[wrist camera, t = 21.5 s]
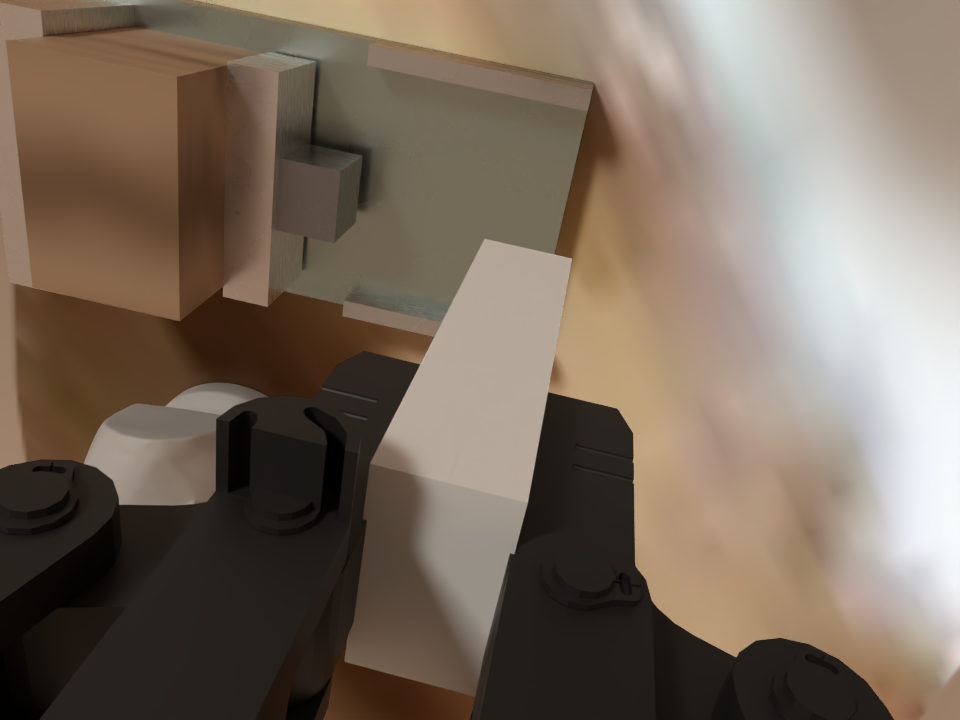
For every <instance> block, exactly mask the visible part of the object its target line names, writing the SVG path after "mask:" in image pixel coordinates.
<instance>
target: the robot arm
mask: <svg viewBox="0 0 960 720" xmlns="http://www.w3.org/2000/svg"><path fill="white" fill-rule="evenodd" d="M571 263H572V258H568V257H563V256H559V255H554V254H550V253H545V252H541V251H537V250H532V249H528V248H523V247H519V246H515V245H510V244H506V243H501V242H497V241H492V240H488V239H484V241H483V243H482V245H481V247H480V249H479V251H478V253H477V255H476V257H475V259H474V260H473V262H472V264H471V266H470V268H469V270H468V272H467V274H466V276H465V278H464V280H463V282H462V284H461V286H460V288H459V290H458V292H457V294H456V296H455V298H454V300H453V302H452V304H451V306H450V308H449V310H448V311H447V313H446V315H445V317H444V319H443V321H442V323H441V325H440V327H439V329H438V331H437V333H436V335H435V337H434V339H433V341H432V343H431V345H430V347H429V349H428V351H427V353H426V355H425V357H424V359H423V360H422V362H421V364H416V363H412V362H407V361H403V360H399V359H395V358H391V357H386V356H382V355H378V354H374V353H370V352H366V351H363V352H362V353H360V354H358V355H356V356H354V357H352V358H350V359H348V360H346V361H344V362H342V363H340V364H338V365H337V366H336V367H335V369H334V370H333V372H332V373H331V374H330V376H329V377H328V379H327V380H326V381H325V383H324V384H323V386H322V390H319V391H318V393H317V394H316V395H315V397H314V398H313V399H309V398H301V397H294V396H274V397H262V398H256V399H253V400H250V401H247V402H244V403H241V404H238V405H235V406H233V407H232V408H230V409H229V410H228V411H226V412H225V413H223V414H222V415H221V416H219V417H218V418H217V419H216V491H215V492H214V493H213V495H212V496H211V497H210V499H209V500H208V501H207V502H203V503H198V504H188V505H119V497H118V494H117V491H116V488H115V485H114V482H113V480H112V479H111V478H109V477H108V476H107V475H106V474H104V473H103V472H102V471H100V470H99V469H98V468H96V467H93V466H90V465H86V464H83V463H79V462H76V461H72V460H36V461H31V462H25V463H20V464H14V465H9V466H7V467H5V468H2V469H0V720H323V718H324V716H325V713H326V711H327V708H328V704H329V698H330V692H331V685H332V677H333V671H334V668H335V666H336V663H337V661H338V659H339V656H340V654H341V651H342V649H343V647H344V644H345V642H346V639H347V645H346V652H345V660H344V662H347V663H351V664H355V665H358V666H362V667H366V668H370V669H373V670H377V671H381V672H385V673H388V674H392V675H396V676H400V677H403V678H407V679H411V680H415V681H418V682H422V683H426V684H430V685H433V686H437V687H441V688H445V689H448V690H452V691H456V692H460V693H463V694H467V695H471V696H475V700H474V705H473V710H472V714H471V717H470V720H894V719H893V718H892V716H891V714H890V713H889V711H888V709H887V708H886V706H885V705H884V704H883V702H882V701H881V700H880V699H879V697H878V696H877V695H876V694H875V692H874V691H873V690H872V688H871V687H870V686H869V685H868V683H867V682H866V681H865V680H864V679H862V678H861V677H860V676H859V675H858V674H856V673H855V672H854V671H853V670H851V669H850V668H849V667H848V666H846V665H845V664H844V663H843V662H841V661H840V660H839V659H837V658H835V657H833V656H831V655H829V654H827V653H825V652H823V651H821V650H819V649H817V648H815V647H813V646H811V645H809V644H805V643H800V642H796V641H791V640H787V639H783V638H776V639H767V640H758V641H755V642H754V643H752V644H751V645H749V646H748V647H746V648H745V649H744V650H742V651H741V652H739V654H738V656H737V658H736V657H734V656H732V655H730V654H728V653H726V652H724V651H722V650H720V649H719V648H717V647H715V646H713V645H711V644H709V643H707V642H705V641H703V640H701V639H700V638H698V637H696V636H694V635H692V634H691V633H689V632H688V631H686V630H684V629H683V628H681V627H680V626H678V625H676V624H675V623H674V622H672V621H671V620H670V619H669V618H668V617H667V616H666V615H664V614H663V613H662V612H661V611H660V610H659V609H658V608H657V607H656V606H655V605H654V603H653V602H652V600H651V597H650V593H649V590H648V586H647V582H646V580H645V578H644V577H643V576H642V574H641V573H640V572H639V571H638V569H637V568H636V566H635V537H634V484H633V479H634V463H632V462H633V432H632V431H631V429H630V428H629V426H628V425H627V423H626V421H625V420H624V418H623V417H622V415H621V414H620V412H619V410H618V409H616V408H612V407H608V406H603V405H599V404H595V403H591V402H587V401H582V400H578V399H574V398H570V397H566V396H561V395H557V394H553V393H549V392H548V389H549V384H550V378H551V373H552V367H553V362H554V356H555V351H556V345H557V340H558V334H559V329H560V323H561V318H562V312H563V307H564V301H565V296H566V290H567V285H568V279H569V274H570V268H571Z"/></svg>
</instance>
